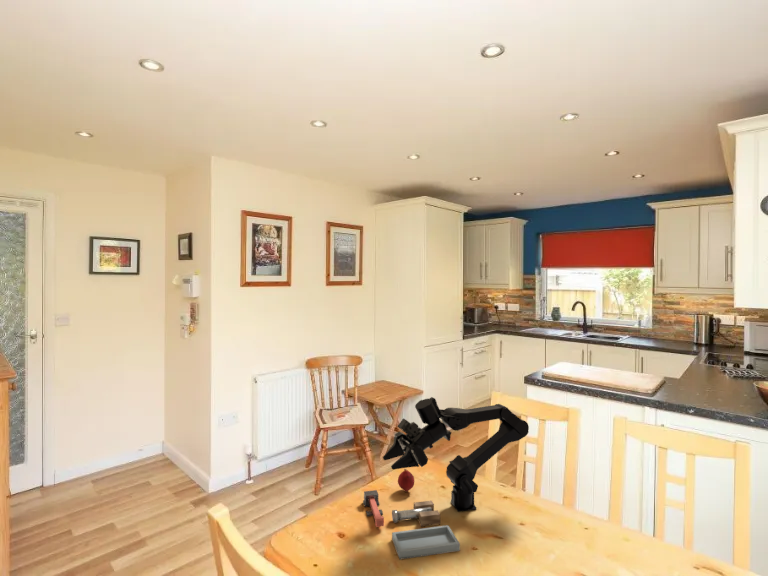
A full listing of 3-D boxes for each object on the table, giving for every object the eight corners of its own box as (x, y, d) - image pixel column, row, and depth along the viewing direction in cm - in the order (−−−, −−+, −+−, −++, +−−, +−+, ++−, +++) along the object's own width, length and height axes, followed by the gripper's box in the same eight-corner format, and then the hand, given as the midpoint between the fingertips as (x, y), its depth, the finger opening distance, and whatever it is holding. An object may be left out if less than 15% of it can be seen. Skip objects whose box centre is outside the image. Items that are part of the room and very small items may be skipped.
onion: (414, 487, 145) (414, 465, 145) (414, 495, 139) (414, 472, 139) (398, 486, 145) (398, 464, 145) (397, 495, 140) (397, 472, 140)
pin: (429, 513, 128) (429, 503, 128) (432, 520, 125) (432, 509, 125) (392, 518, 126) (391, 508, 125) (394, 525, 122) (394, 514, 122)
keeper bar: (373, 498, 136) (373, 491, 136) (383, 525, 120) (383, 517, 120) (366, 498, 135) (366, 491, 135) (375, 526, 120) (375, 518, 120)
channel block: (431, 509, 131) (431, 500, 131) (440, 524, 123) (440, 514, 123) (413, 511, 129) (413, 502, 129) (421, 526, 122) (421, 516, 122)
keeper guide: (377, 500, 136) (377, 490, 136) (382, 514, 128) (382, 503, 128) (363, 502, 135) (363, 491, 135) (367, 516, 127) (367, 505, 127)
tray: (448, 531, 119) (448, 525, 119) (459, 550, 110) (459, 543, 110) (392, 539, 115) (392, 532, 115) (399, 559, 107) (399, 552, 107)
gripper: (407, 407, 137) (368, 433, 133) (428, 418, 119) (383, 448, 115) (422, 436, 138) (383, 462, 133) (445, 451, 120) (401, 482, 115)
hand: (387, 463), depth 124 cm, fingers open, 9 cm apart
